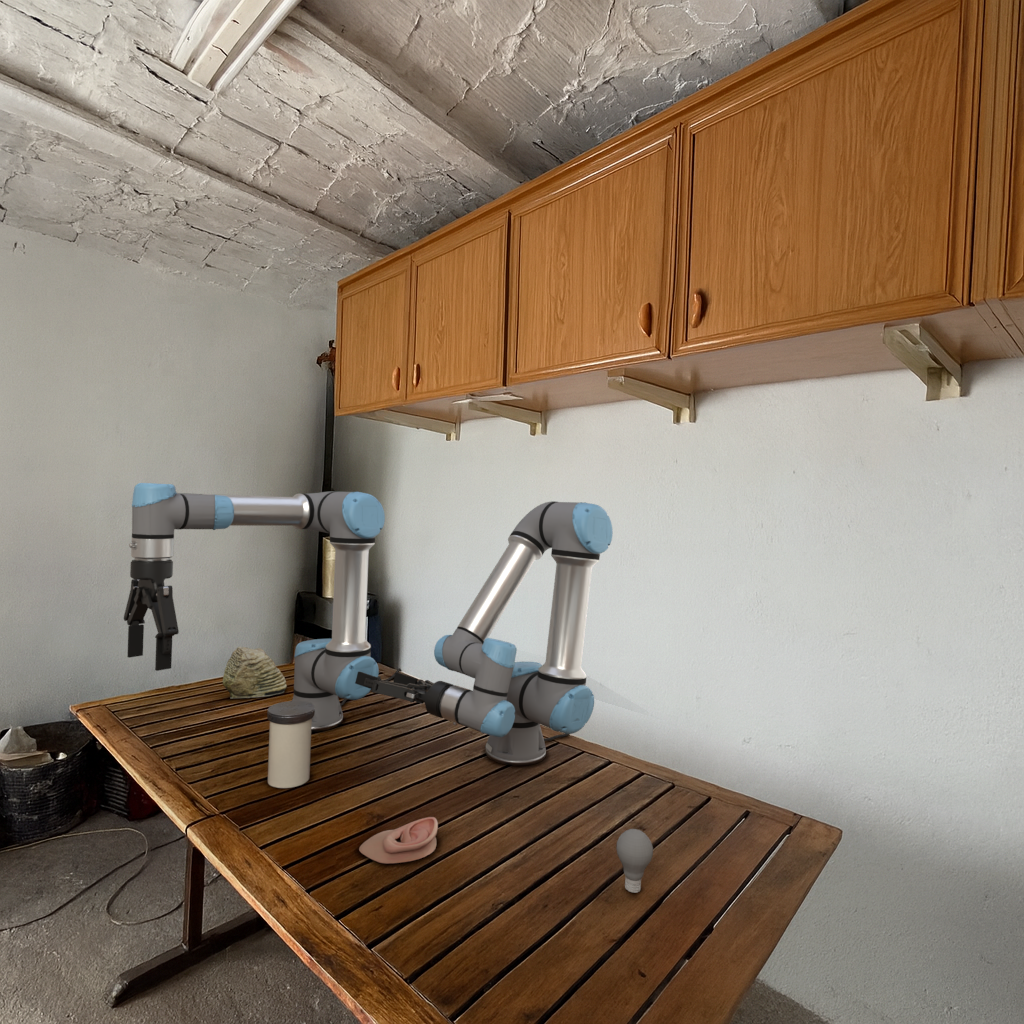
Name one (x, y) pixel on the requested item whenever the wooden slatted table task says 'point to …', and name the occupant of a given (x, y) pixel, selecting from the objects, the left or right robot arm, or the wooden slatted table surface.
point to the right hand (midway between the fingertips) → (376, 677)
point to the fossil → (252, 674)
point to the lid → (290, 712)
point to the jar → (289, 754)
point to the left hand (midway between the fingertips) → (148, 662)
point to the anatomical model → (403, 842)
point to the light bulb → (634, 857)
